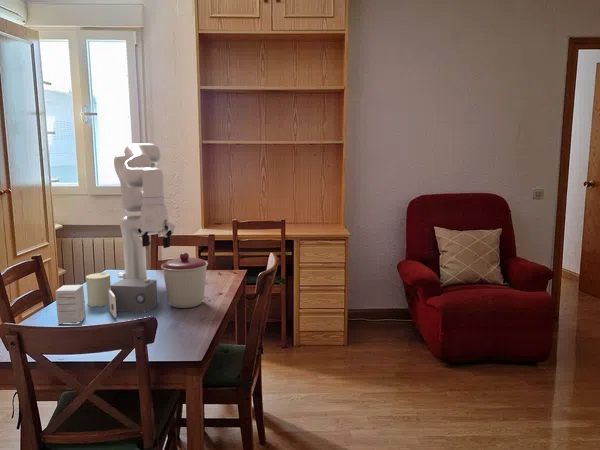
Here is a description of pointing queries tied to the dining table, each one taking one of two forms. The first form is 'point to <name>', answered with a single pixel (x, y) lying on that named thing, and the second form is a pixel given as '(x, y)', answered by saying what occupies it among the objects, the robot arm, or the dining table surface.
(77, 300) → the supplement box
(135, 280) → the block
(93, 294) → the can
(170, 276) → the canister
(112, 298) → the side door
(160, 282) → the dining table surface
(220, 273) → the dining table surface
